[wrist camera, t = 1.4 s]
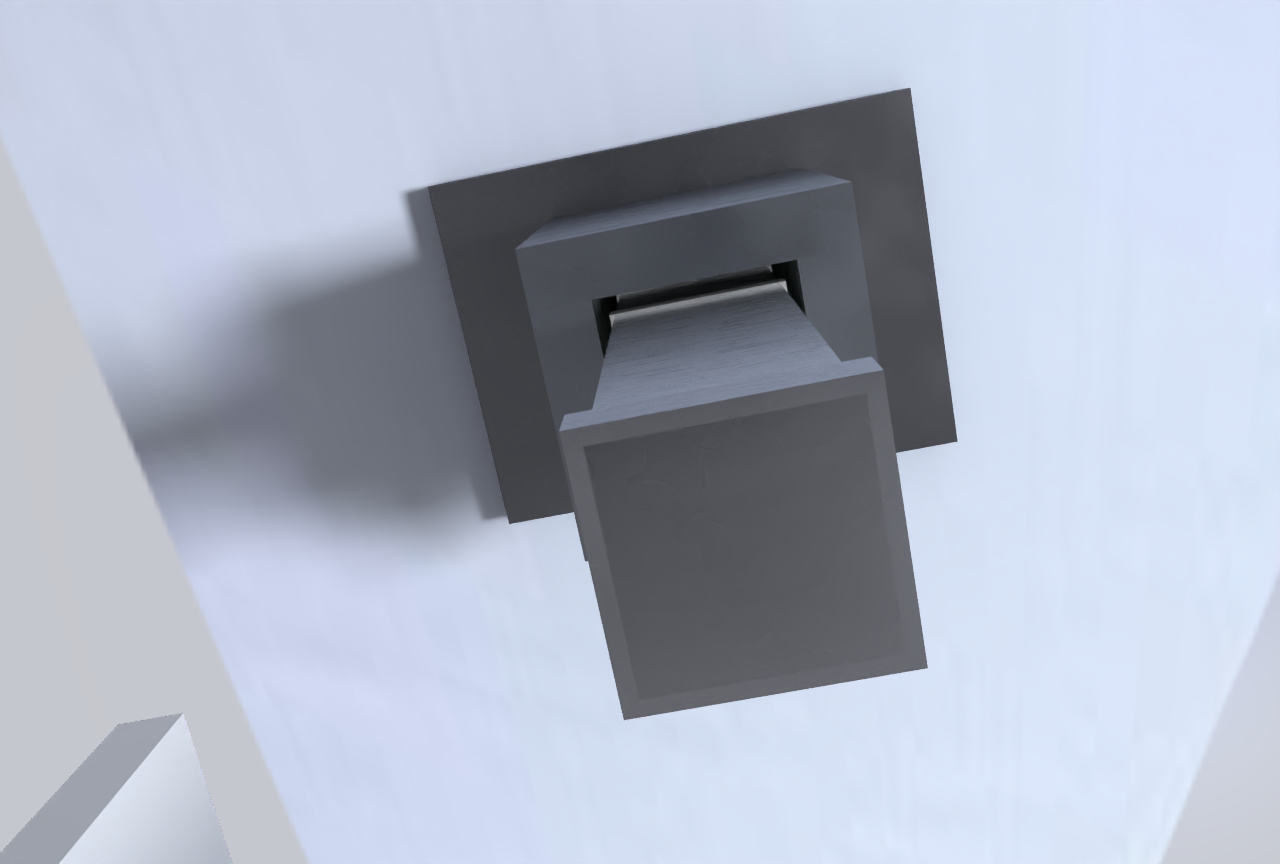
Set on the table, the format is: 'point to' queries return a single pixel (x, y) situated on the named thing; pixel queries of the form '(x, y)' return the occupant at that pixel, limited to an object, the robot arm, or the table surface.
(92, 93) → the table surface
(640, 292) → the column
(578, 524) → the stand
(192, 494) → the table surface
